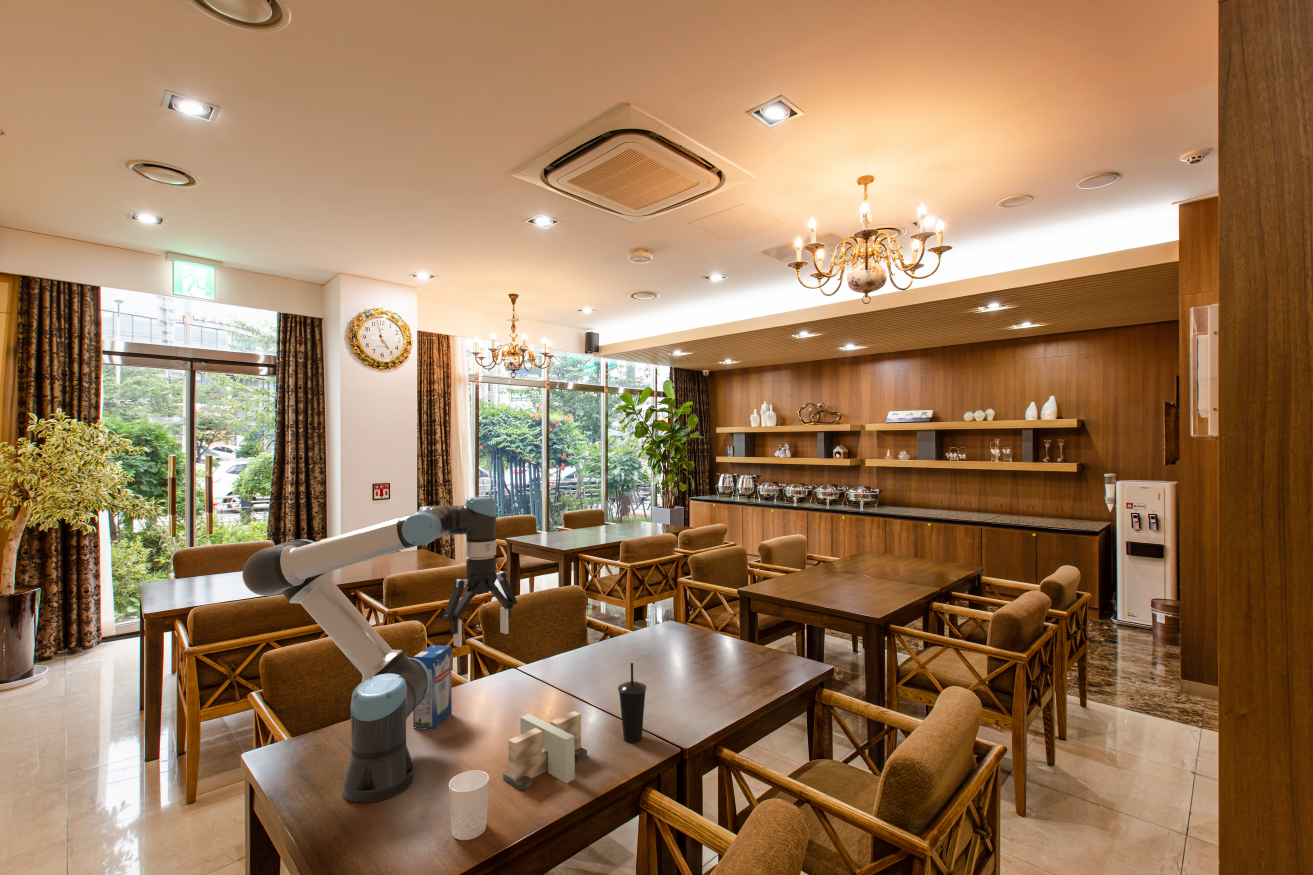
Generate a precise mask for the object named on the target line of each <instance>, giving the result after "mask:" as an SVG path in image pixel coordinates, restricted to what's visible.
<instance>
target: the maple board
mask: <svg viewBox="0 0 1313 875" xmlns="http://www.w3.org/2000/svg"><path fill="white" fill-rule="evenodd" d="M549 724H551V725H553V726H555V727H557V728H559V729H561V730H563V731H565V732H567V733H569V734H571V735H573V736H574V753H575V761H577V762H579V761H580V760H582V759H584V758H586V757H588V750H587V749H586V748H583V747H582V713H580V712H578V711H575V710H573V711H571V712H569V713H566V714H563V715H562V716H560V717H557V718H555V719H553V720H550V722H549ZM507 741H508V770H507V771H505V772H503V773H502V776H503V777H502V780H503V781H505V782H506V783H508V784H509V785H510V786H513V787H514V788H515V789H517V790H518V791H520V792H522V791H523V790H525V789H527V788H529V787H531V786H532V785H533V784H532V783H533V782H532V779H534V778H536V777H539V776H540V775H541V774H544V773H546V772H547V771H548V752H547V751H545V750H544V749H542V731H541V730H539V729H537V728H534V729H532V730H530V731H528V732H525V733H523V734H521V733H520V734H519V735H516V736H514V737H512V738H510V739H509V738H508V740H507Z"/></svg>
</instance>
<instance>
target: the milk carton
mask: <svg viewBox="0 0 1313 875" xmlns="http://www.w3.org/2000/svg"><path fill="white" fill-rule="evenodd" d="M412 658H413V659H414V658H415V659H418V660H420V661H421V662H422V663H424V665H425V666H426V667H427V669H428V671H429V675H430V684H429V688H428V691H427V693H426V695H425V697H424V698H423V700H422V701H421V703H419V704H418V705H417V706H416V707H415V709H414V710H413V711H412V714H413V716H412V719H413V722H412V723H413V724H412V725H413V726H412V727H416V728H426V729H425V730H430V729H434V730H435V729H436V728H438V727H439V726H440V725H441V724H442V723H443V722H444V721H445V720H447V719H448V718H449V717H450V716H451V715H452V712H453V711H452V709H453V708H452V703H453V702H452V695H453V694H452V692H453V691H452V645H439V644H438V645H436V644H431V645H430V646H428V647H426V648H425V649H423V650H421V651H420V652H418V653H417V654H415V655H414V656H412ZM448 716H449V717H448ZM447 717H448V718H447ZM446 718H447V719H446ZM440 723H441V724H440ZM439 724H440V725H439ZM438 725H439V726H438ZM437 726H438V727H437ZM416 728H415V729H416Z"/></svg>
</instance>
